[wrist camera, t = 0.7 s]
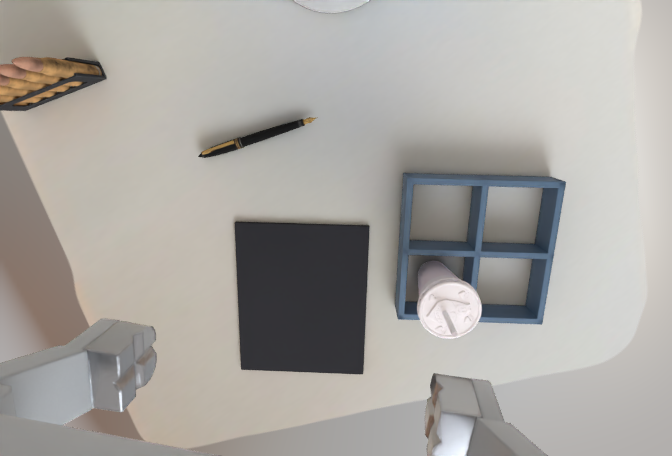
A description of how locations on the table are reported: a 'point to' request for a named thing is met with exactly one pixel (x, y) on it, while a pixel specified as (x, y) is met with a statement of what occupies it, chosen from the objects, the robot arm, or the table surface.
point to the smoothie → (446, 302)
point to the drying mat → (302, 296)
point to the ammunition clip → (44, 80)
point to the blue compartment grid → (476, 248)
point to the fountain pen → (253, 138)
